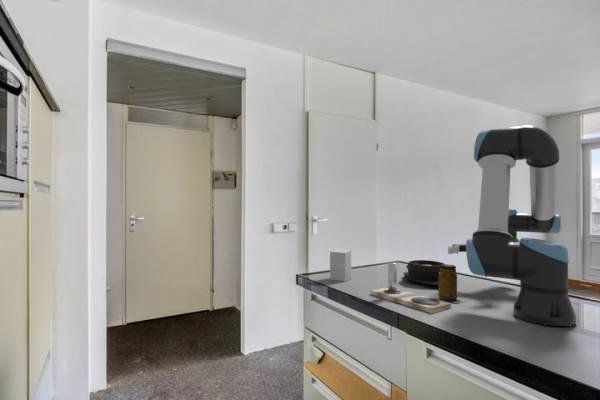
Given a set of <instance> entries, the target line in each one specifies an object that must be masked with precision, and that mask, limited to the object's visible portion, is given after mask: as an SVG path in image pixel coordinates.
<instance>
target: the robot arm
mask: <svg viewBox="0 0 600 400" xmlns="http://www.w3.org/2000/svg"><path fill="white" fill-rule="evenodd" d="M473 149H474V150H473V158H474V159H473V160H474V161H475V162H476V163H477V164H478V166H479V168H480V169H482V173H481V185H480V187H481V188H480V196H479V197H480V200H479V201H480V202H479V213H478V227H477V229H476V230H475V231H474V232H472V238H468V239H466V243H465V244H462V243H461V244H460V243H459V244H452V246H448V247H447V254H448V255H452V254H459V253H460V252H461V253H463V252H464V253H465V254H466V261H467V265H468V268H469V269H468V270H469V271H470V272H471V274H472V275H476V276H482V277H486V278H488V277H490V278H491V277H492V278H498V279H499V278H500V279H507V280H508V279H509V280H515V281H519V282H520V284H519V285H520V286H519V287H520V289H519V292H518V295H517V297H516V299H515V302H514V305H513V316H515V317H516V316H517V317H516V318H518V319H520V318H521V320H523V319H524V320H523V321H525V320H527V321H526V322H528V321H530V322H529V323H532V322H533V323H532V324H536V323H539V324H538V325H541V324H546V325H554V326H570V325H574V324H577V315H576V312H575V310H574V308H573V307H574V306H573V304H572V301H571V299H570V297H569V264H570V260H569V251H568V248H567V246H566V245H564V244H562V243H560V242H556V241H550V240H545V239H540V238H539V239H538V238H533V237H532V238H531V237H521V238H520V239H519V238H518V235H517V234H518V232H520V233H521V232H522V233H537V234H539V233H541V234H559V233H560V232H561V227H562V226H561V220H562V219H561V215H560V214H557V213H556V214H555V212H556V165H557V164H558V163H559V162H560V150H559V147H558V145H557V143H556V141H555V139H554V138H553V136H552V135H550V134H549V133H548V132H547V131H546V130H544V129H543V128H541V127H538V126H534V125H522V126H513V127H512V126H511V127H504V128H497V129H496V128H490V129H485V130H481V131H480V132H479V133H478V134H477V136H476V138H475V142H474V147H473ZM521 160H522V161H523V160H525V163H526V165H527V166H529V189H530V190H529V191H530V213H522V212H521V213H518V210H517V209H516V208H510V191H511V190H510V188H511V187H510V186H511V185H510V184H511V169H513V168H514V167H515V166H516V164H517V161H521ZM546 325H545V326H546ZM554 326H553V327H554ZM574 326H575V325H574Z"/></svg>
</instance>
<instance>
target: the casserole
mask: <svg viewBox="0 0 600 400" xmlns="http://www.w3.org/2000/svg"><path fill="white" fill-rule="evenodd" d="M442 264H445V263H444V262H440V261H436V260H425V259H418V260H416V259H415V260H409V261H408V263H407V265H405V267H406V269H407V271H405V272H403V273H402V274H403V275H404V276H403V278H404V279H406V280H408V281H411V282H413V283H416V284H418V285H424V286H439V272H440V265H442Z"/></svg>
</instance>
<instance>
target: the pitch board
mask: <svg viewBox="0 0 600 400" xmlns="http://www.w3.org/2000/svg"><path fill="white" fill-rule="evenodd" d="M370 295H372V296H374V297H377V298H382V299H385V300H388V301H390V302H391V301H392V302H394V303H398V304H400V305H403V306H407V307H411V308H413V309H417V310H421V311H422V312H426V313H430V314H436V313H438V312H442V311H445V310H448V309H452V302H448V301H443V300H439V299H435V298H432V297H429V296H426V295H425V296H424V295H421V294H418V293H414V292H409V291H407V290H404V289H403V290H402V289H399V288H397V292H395V293H391V292H388V286H387V287H386V286H385V287H380V288H375V289H370Z"/></svg>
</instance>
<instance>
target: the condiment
mask: <svg viewBox="0 0 600 400" xmlns="http://www.w3.org/2000/svg"><path fill="white" fill-rule="evenodd" d="M456 269H457V267H456V265H453V264H449V263H448V264H446V263H444V264H442V265H440V272H439V285H438V296H436V297H434V299H437V300H440V301H444V302H448V303H453V304H454V303H455V304H460V303H462V302H463V303H464V302H465V301H466V299H464V298H460V297H458V274H457V270H456Z"/></svg>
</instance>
